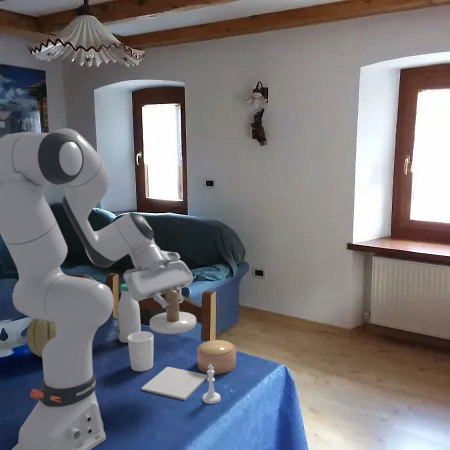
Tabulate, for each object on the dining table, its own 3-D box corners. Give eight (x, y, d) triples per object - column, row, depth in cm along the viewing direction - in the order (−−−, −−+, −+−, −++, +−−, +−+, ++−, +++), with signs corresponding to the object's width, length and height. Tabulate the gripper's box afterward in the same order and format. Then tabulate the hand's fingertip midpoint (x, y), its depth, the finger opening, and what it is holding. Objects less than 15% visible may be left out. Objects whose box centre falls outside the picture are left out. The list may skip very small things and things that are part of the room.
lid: (181, 336, 128) (180, 299, 126) (140, 329, 133) (138, 293, 131) (204, 320, 139) (203, 285, 138) (165, 313, 145) (164, 280, 143)
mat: (184, 400, 130) (184, 398, 130) (141, 389, 136) (141, 387, 136) (208, 376, 143) (208, 375, 143) (167, 368, 149) (167, 366, 148)
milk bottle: (145, 337, 172) (143, 283, 169) (130, 345, 166) (127, 289, 162) (129, 333, 176) (126, 280, 173) (114, 340, 170) (111, 286, 166)
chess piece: (214, 405, 127) (213, 370, 126) (198, 400, 130) (197, 366, 128) (224, 397, 131) (223, 362, 130) (209, 392, 134) (208, 358, 132)
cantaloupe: (46, 370, 149) (42, 324, 146) (18, 359, 157) (14, 315, 154) (84, 352, 161) (81, 309, 158) (56, 342, 169) (53, 301, 166)
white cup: (149, 373, 146) (148, 342, 144) (125, 371, 147) (123, 340, 145) (158, 361, 153) (157, 332, 151) (135, 360, 155) (133, 330, 153)
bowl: (226, 377, 142) (226, 358, 141) (190, 369, 147) (190, 351, 146) (242, 360, 153) (241, 342, 152) (208, 353, 158) (207, 336, 157)
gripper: (124, 265, 131) (147, 308, 126) (182, 252, 145) (205, 290, 140) (116, 278, 135) (138, 320, 129) (173, 264, 149) (195, 301, 144)
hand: (173, 304), depth 135 cm, fingers closed on lid, 4 cm apart
